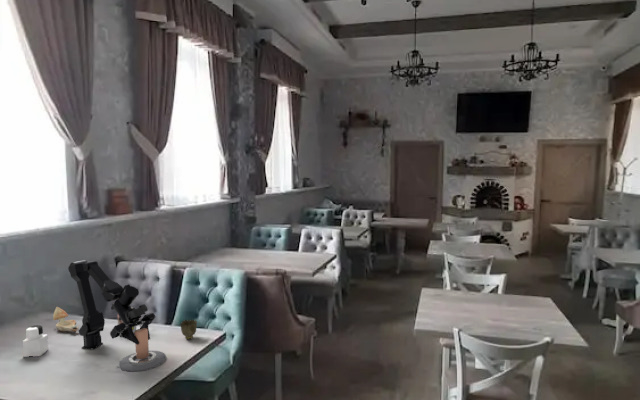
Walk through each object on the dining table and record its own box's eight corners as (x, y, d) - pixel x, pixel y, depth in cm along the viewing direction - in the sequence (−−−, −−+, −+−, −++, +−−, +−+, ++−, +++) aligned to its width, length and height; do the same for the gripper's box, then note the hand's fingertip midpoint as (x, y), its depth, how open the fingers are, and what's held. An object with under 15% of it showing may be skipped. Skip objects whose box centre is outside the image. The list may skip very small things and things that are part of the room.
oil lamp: (67, 323, 232) (65, 304, 231) (85, 332, 219) (84, 312, 218) (48, 328, 225) (47, 308, 225) (66, 337, 212) (65, 317, 211)
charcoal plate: (109, 370, 177) (109, 368, 177) (135, 351, 194) (135, 349, 194) (151, 372, 174) (150, 370, 173) (173, 353, 191) (173, 351, 191)
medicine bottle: (32, 350, 198) (30, 324, 197) (48, 349, 198) (47, 323, 197) (22, 357, 191) (20, 330, 190) (40, 356, 191) (38, 329, 190)
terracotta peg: (135, 359, 181) (134, 333, 180) (136, 355, 185) (134, 329, 184) (148, 357, 182) (147, 331, 181) (149, 353, 187) (147, 327, 186)
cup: (192, 342, 203) (191, 325, 203) (178, 341, 205) (177, 324, 204) (200, 335, 211) (199, 319, 210) (186, 335, 212) (185, 318, 211)
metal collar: (123, 364, 180) (123, 361, 179) (138, 353, 190) (138, 350, 190) (147, 366, 178) (147, 363, 178) (161, 354, 188) (161, 352, 188)
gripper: (113, 306, 176) (132, 338, 171) (151, 294, 192) (170, 323, 187) (101, 322, 180) (120, 354, 176) (140, 309, 196) (158, 337, 192)
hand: (143, 341), depth 183 cm, fingers closed on terracotta peg, 5 cm apart
